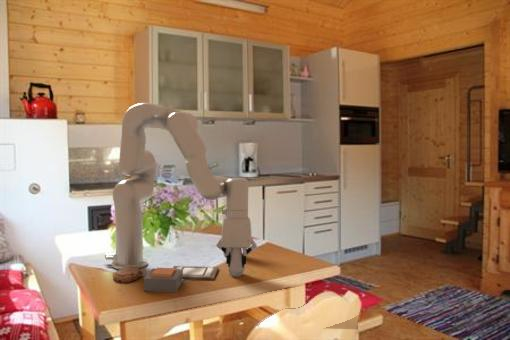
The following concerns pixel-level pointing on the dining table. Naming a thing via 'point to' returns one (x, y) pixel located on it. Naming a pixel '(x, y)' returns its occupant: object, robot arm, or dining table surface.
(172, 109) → the robot arm
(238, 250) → the salt shaker
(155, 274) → the button
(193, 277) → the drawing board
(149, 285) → the button housing
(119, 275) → the cookie
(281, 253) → the dining table surface
